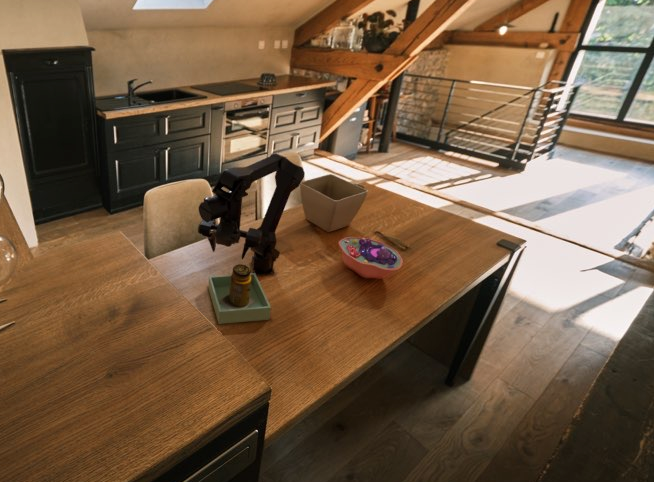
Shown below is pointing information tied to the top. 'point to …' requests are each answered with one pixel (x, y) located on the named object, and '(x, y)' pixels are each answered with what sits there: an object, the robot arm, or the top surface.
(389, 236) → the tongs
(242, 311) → the tray
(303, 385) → the top surface
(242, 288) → the condiment
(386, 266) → the cell model
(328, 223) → the flower pot
